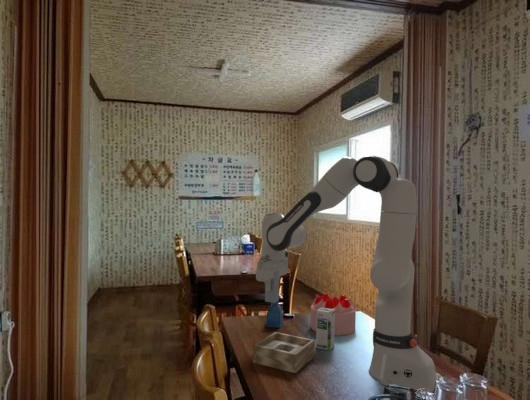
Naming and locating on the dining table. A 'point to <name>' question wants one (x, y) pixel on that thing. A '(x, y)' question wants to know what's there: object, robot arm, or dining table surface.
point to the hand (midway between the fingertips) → (272, 289)
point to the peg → (273, 289)
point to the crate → (284, 352)
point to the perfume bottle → (274, 315)
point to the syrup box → (325, 328)
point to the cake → (336, 313)
